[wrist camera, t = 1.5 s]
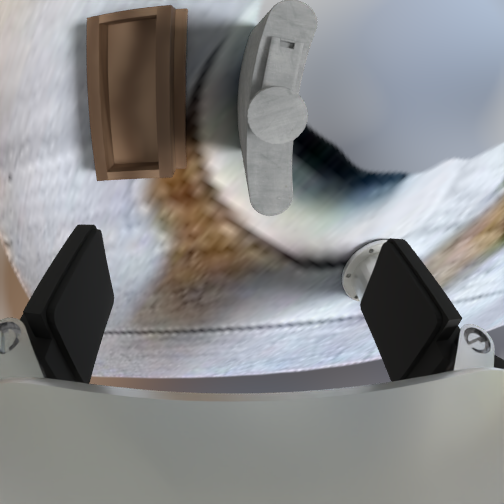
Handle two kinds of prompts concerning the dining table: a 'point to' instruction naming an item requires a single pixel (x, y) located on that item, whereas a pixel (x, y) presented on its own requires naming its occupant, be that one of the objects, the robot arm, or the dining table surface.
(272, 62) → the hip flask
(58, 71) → the dining table surface
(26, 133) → the dining table surface
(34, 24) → the dining table surface
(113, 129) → the walnut stand
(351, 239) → the dining table surface
